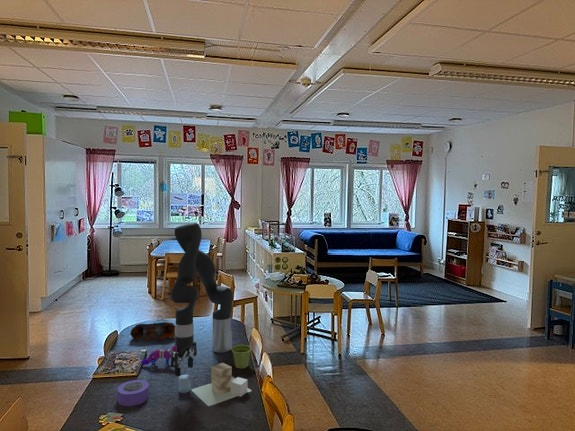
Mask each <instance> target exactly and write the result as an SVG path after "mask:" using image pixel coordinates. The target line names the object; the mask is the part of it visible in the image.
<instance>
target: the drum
mask: <svg viewBox="0 0 575 431" xmlns="http://www.w3.org/2000/svg"><path fill="white" fill-rule="evenodd" d="M191 380H192V379H191V375H189V374H181V375H180V376H178V393H180V394H188V393H189V392H191V391H192V390H191V389H192V388H191Z"/></svg>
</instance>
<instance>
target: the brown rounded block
mask: <svg viewBox="0 0 575 431" xmlns="http://www.w3.org/2000/svg"><path fill="white" fill-rule="evenodd" d="M175 325H176V324H174V323H172V322H166V321H163V322H153V323H139V324H136V325H134V327H132V329H131V330H130V336H131V337H132V339H133V340H134V341H135V342H140V341H143V343H144V342H151V340H153V339H156V340H155V342H157V341H164V339H165V338H169V339H170V340H173V339H175Z"/></svg>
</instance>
